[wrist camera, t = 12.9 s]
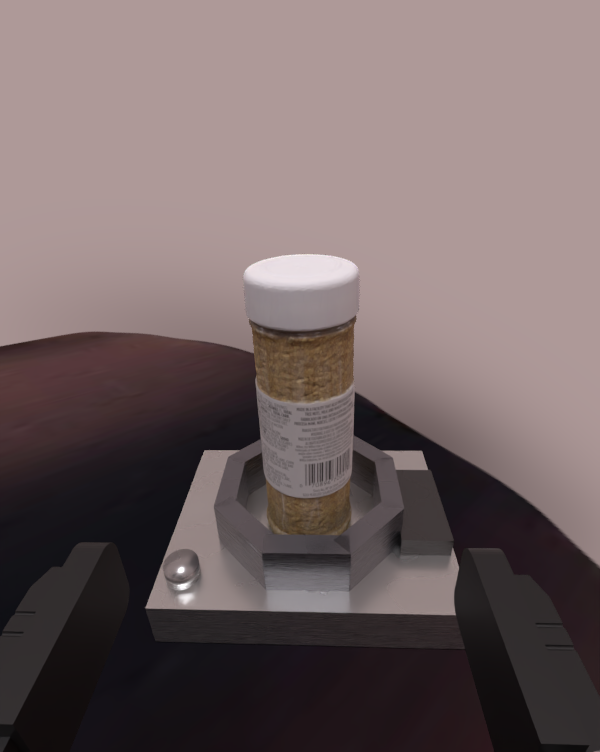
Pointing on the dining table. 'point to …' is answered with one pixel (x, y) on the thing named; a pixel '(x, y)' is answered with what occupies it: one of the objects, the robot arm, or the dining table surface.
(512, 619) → the robot arm
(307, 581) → the octagonal ring base plate
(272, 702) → the dining table surface
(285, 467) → the sprinkles bottle
